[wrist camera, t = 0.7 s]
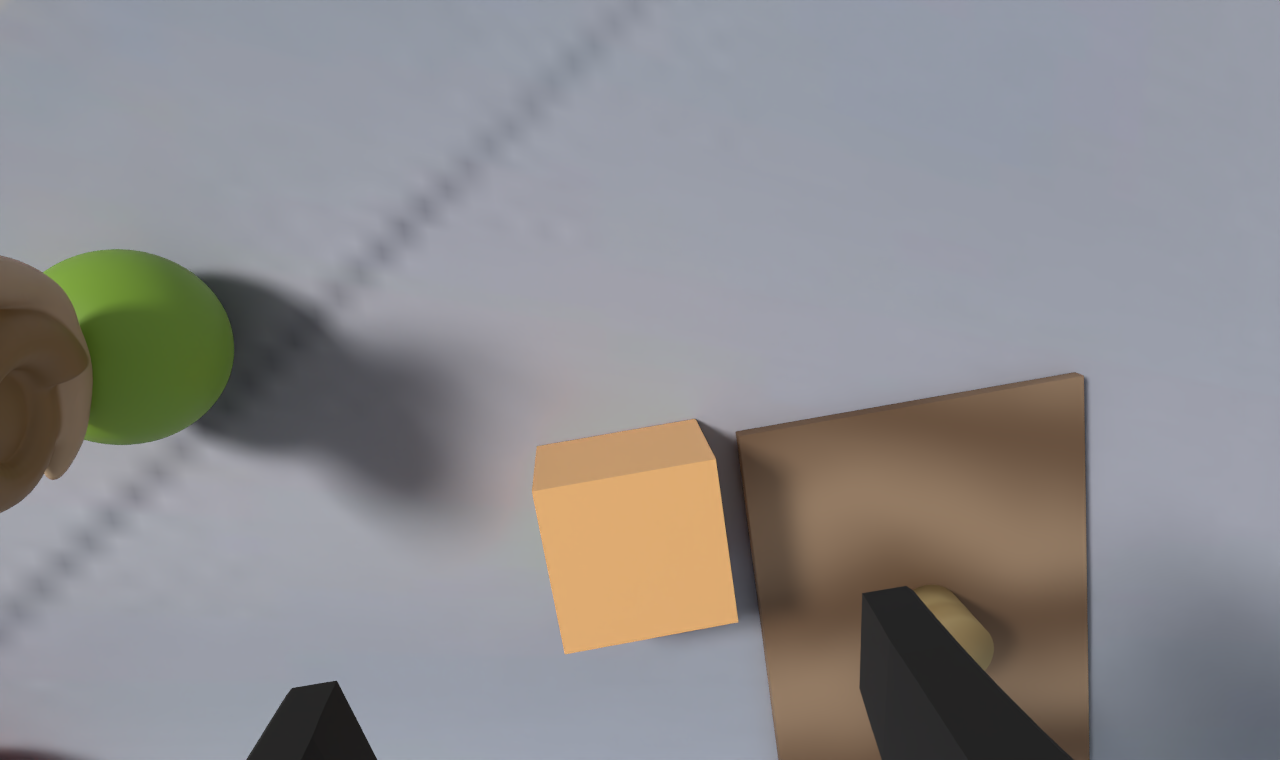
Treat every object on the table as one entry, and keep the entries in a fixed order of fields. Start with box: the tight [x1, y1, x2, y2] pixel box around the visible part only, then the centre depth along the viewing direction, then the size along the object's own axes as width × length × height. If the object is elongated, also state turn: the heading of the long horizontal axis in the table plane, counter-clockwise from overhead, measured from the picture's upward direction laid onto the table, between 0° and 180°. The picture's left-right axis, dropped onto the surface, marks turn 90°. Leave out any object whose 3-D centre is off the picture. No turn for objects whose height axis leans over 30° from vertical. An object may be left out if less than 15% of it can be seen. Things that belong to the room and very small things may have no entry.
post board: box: [736, 372, 1089, 760], centre depth 29 cm, size 16×12×3 cm
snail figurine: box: [0, 249, 234, 513], centre depth 20 cm, size 5×6×12 cm
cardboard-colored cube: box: [532, 419, 738, 654], centre depth 27 cm, size 5×5×4 cm
